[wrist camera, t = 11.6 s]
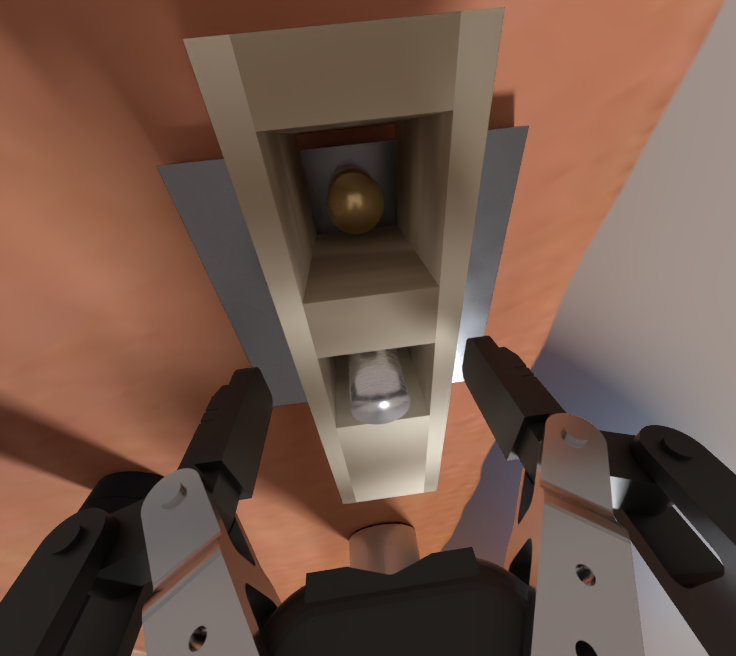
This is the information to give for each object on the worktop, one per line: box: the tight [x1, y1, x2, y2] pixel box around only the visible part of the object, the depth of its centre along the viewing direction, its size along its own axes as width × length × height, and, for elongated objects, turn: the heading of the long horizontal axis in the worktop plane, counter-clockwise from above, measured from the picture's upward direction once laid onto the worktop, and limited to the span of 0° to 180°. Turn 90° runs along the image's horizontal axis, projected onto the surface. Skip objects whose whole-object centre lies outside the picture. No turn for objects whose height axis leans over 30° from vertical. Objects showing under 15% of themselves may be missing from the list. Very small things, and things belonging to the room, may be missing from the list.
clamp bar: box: [183, 7, 505, 504], centre depth 12 cm, size 17×5×6 cm, turn 5°
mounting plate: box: [157, 126, 529, 425], centre depth 12 cm, size 14×14×8 cm
